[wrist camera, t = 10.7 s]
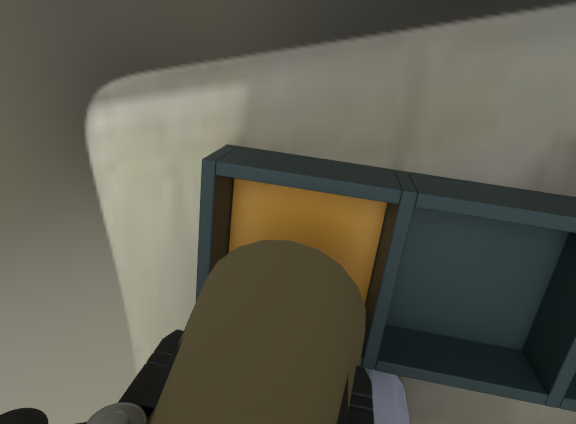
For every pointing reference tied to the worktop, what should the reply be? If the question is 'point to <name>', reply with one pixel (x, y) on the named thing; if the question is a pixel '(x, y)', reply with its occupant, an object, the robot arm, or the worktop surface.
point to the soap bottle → (388, 398)
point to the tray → (419, 264)
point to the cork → (267, 341)
